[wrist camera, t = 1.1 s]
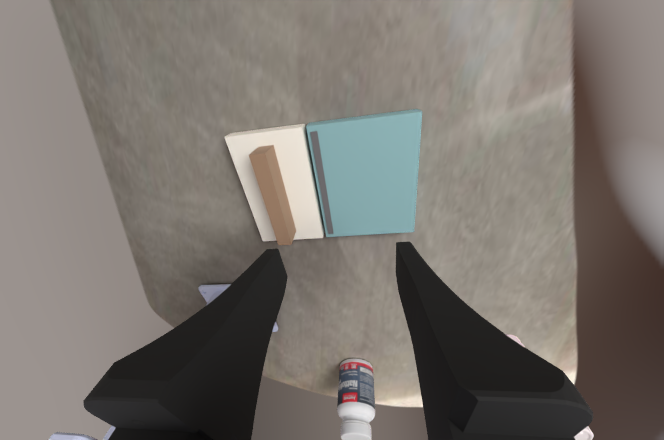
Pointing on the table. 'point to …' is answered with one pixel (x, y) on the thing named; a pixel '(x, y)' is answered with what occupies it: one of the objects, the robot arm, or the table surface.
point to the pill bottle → (356, 399)
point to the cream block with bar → (278, 182)
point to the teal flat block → (367, 172)
